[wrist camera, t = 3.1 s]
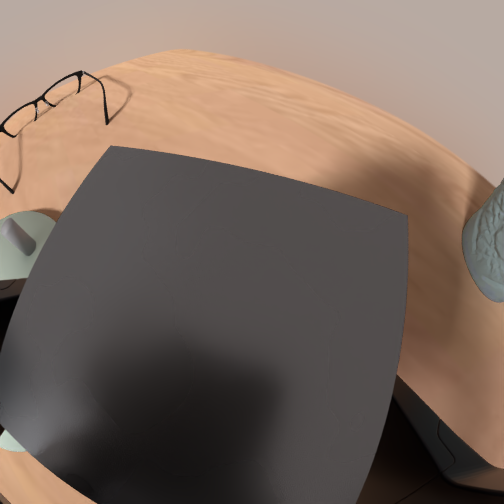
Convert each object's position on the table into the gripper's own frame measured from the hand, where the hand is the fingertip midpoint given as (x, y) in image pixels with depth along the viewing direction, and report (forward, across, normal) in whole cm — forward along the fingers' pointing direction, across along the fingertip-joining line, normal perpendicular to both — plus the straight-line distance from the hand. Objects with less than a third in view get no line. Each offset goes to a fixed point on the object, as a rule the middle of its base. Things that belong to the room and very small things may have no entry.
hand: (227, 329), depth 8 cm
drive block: (+4, 0, +6) cm, 7 cm away
